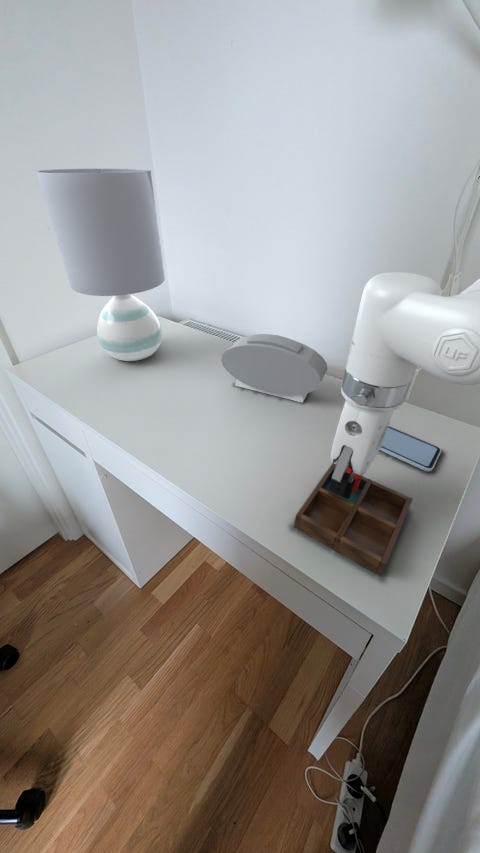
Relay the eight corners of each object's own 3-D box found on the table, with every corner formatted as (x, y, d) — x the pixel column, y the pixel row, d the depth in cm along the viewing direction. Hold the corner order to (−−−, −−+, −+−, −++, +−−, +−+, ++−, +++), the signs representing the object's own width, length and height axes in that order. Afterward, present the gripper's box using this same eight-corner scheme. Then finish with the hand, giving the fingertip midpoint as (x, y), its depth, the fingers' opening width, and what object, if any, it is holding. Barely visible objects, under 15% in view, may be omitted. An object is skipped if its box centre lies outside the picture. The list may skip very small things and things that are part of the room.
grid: (406, 511, 53) (412, 498, 51) (379, 576, 45) (386, 564, 43) (329, 475, 59) (332, 462, 57) (293, 527, 50) (296, 514, 48)
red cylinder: (361, 482, 53) (367, 466, 51) (352, 498, 51) (357, 483, 48) (337, 471, 55) (342, 455, 53) (327, 486, 52) (331, 471, 50)
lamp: (89, 377, 83) (22, 173, 58) (97, 340, 100) (48, 168, 74) (177, 368, 87) (151, 172, 61) (171, 333, 103) (149, 167, 78)
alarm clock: (323, 393, 78) (332, 342, 70) (316, 407, 74) (325, 354, 66) (233, 372, 86) (232, 323, 78) (221, 383, 81) (220, 333, 73)
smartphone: (431, 471, 58) (350, 434, 65) (429, 474, 59) (349, 437, 66) (442, 448, 63) (365, 415, 70) (440, 451, 63) (364, 419, 70)
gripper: (384, 431, 34) (348, 534, 46) (423, 365, 45) (386, 463, 56) (316, 406, 38) (298, 508, 49) (367, 350, 48) (343, 445, 60)
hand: (345, 483), depth 53 cm, fingers closed on red cylinder, 4 cm apart
